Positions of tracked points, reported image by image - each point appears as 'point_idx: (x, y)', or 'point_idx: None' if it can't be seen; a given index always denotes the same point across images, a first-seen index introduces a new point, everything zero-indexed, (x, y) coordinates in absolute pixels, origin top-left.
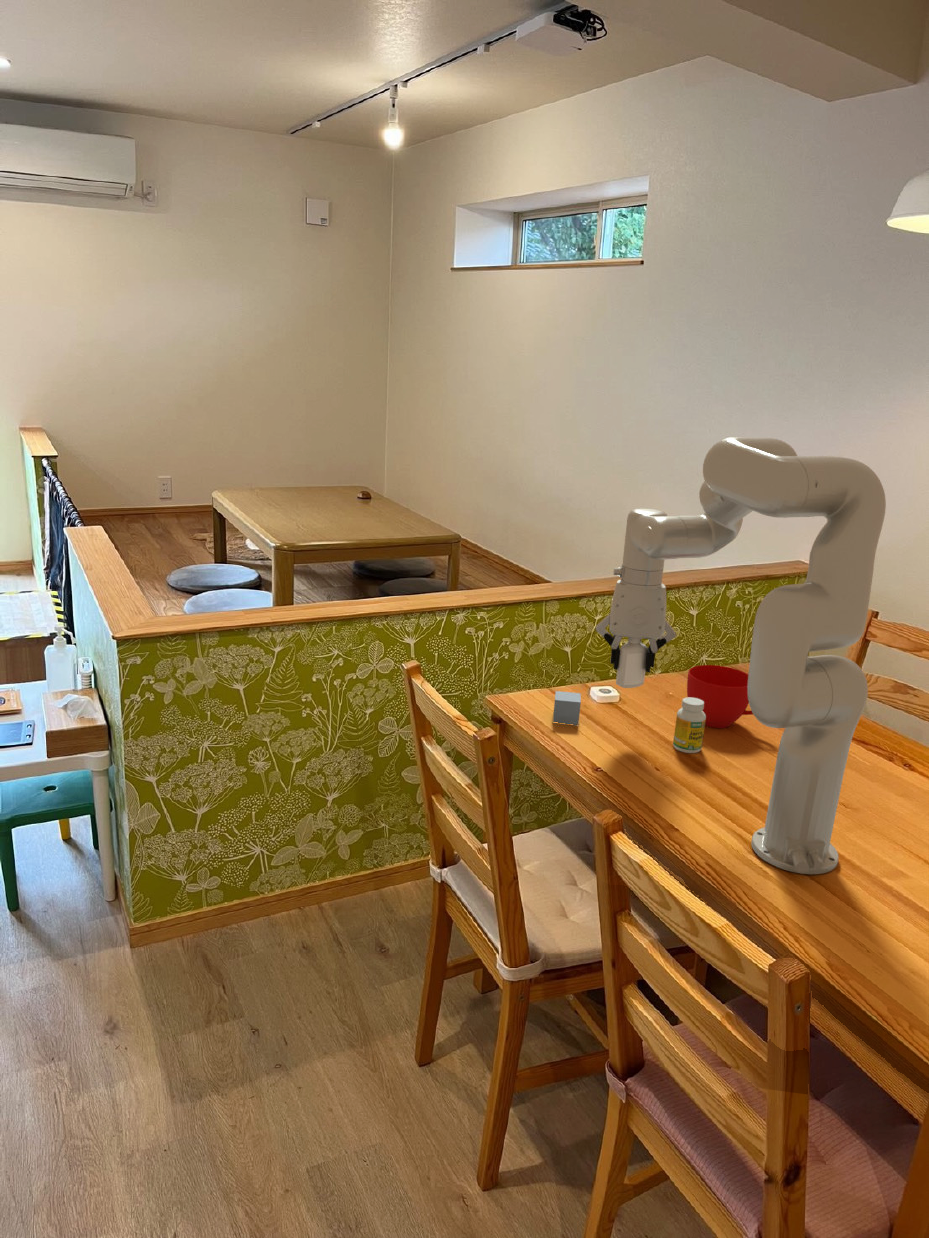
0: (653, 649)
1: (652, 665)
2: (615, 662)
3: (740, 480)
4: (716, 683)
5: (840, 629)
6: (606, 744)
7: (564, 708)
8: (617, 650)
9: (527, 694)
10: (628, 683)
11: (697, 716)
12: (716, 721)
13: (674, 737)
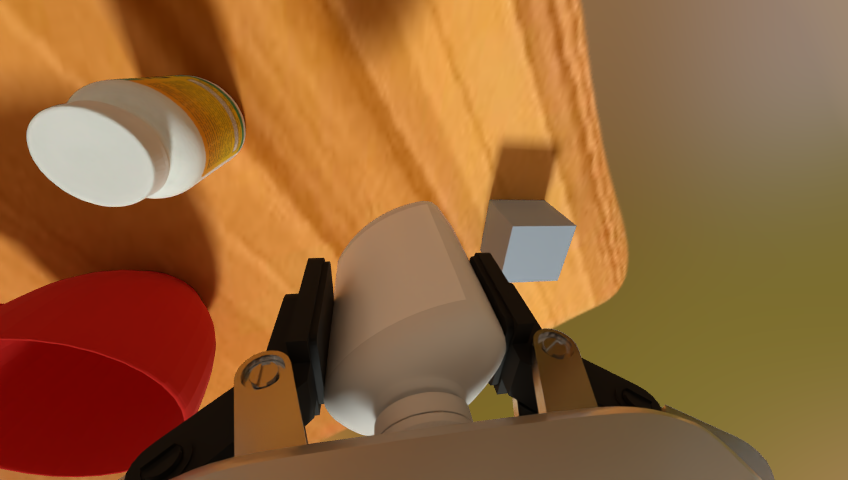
0: (271, 371)
1: (292, 295)
2: (499, 271)
3: None
4: (131, 416)
5: None
6: (436, 96)
7: (541, 216)
8: (525, 320)
9: (558, 318)
10: (408, 210)
11: (87, 95)
12: (127, 270)
13: (234, 121)
